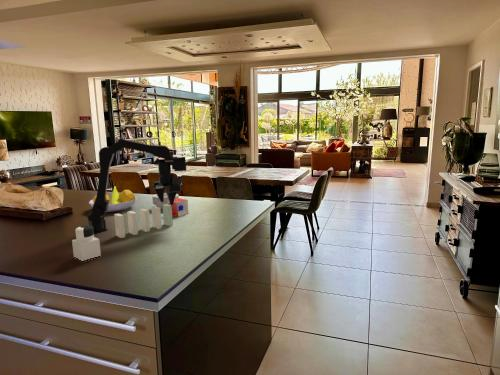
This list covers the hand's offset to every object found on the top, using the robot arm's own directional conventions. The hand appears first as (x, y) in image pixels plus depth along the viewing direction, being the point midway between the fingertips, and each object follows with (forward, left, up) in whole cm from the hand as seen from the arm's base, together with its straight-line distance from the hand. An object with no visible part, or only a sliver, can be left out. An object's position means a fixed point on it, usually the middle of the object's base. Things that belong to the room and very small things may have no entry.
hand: (167, 203), depth 167 cm
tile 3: (-12, +2, -11) cm, 16 cm away
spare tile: (0, 0, -11) cm, 11 cm away
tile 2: (-18, +3, -11) cm, 21 cm away
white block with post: (-45, -7, -11) cm, 47 cm away
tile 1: (-24, +4, -11) cm, 27 cm away
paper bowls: (+23, +29, -11) cm, 38 cm away
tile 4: (-6, +1, -11) cm, 12 cm away
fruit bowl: (+5, +54, -11) cm, 55 cm away
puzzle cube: (+17, +12, -11) cm, 23 cm away
